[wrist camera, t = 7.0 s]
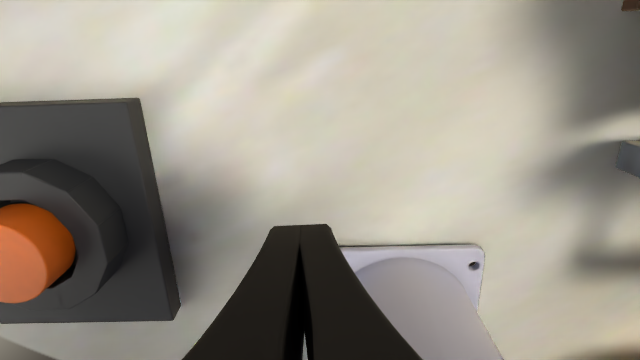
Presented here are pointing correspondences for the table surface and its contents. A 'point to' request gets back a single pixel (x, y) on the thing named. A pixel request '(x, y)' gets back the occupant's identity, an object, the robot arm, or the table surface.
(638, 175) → the drawer
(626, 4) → the cabinet
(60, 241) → the button
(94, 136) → the block
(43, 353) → the table surface
